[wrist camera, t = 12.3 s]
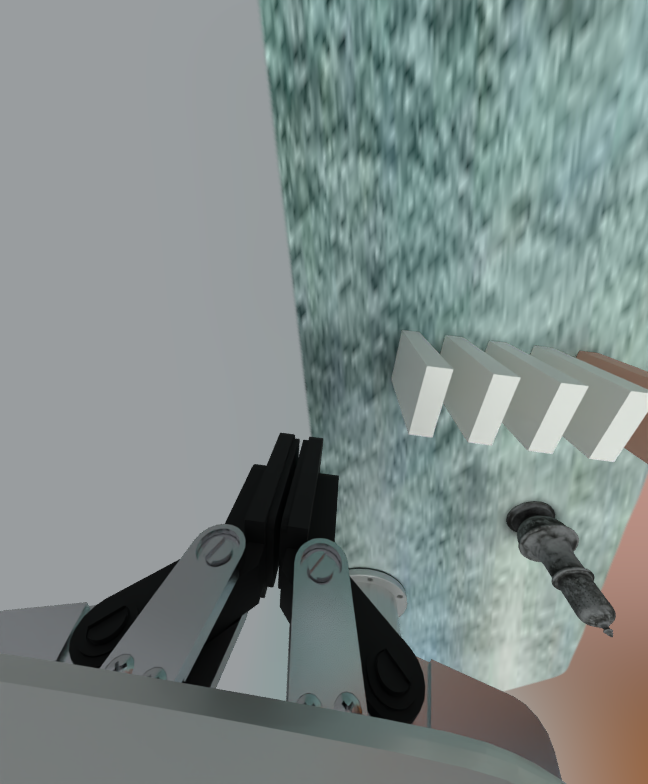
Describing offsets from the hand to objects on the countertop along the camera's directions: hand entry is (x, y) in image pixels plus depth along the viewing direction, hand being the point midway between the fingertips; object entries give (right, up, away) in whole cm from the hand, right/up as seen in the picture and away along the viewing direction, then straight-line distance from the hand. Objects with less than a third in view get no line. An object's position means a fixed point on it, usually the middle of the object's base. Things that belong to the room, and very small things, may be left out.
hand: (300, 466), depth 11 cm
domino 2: (+13, +6, +16) cm, 21 cm away
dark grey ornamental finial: (+26, -12, +23) cm, 37 cm away
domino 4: (+21, +5, +16) cm, 26 cm away
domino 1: (+9, +6, +16) cm, 19 cm away
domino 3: (+17, +5, +16) cm, 24 cm away
